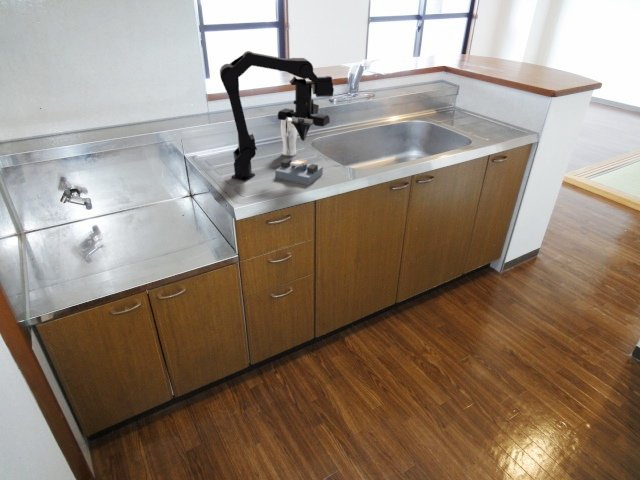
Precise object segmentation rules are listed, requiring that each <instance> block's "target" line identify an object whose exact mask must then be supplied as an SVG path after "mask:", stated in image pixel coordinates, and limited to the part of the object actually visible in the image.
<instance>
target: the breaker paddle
mask: <svg viewBox="0 0 640 480" xmlns="http://www.w3.org/2000/svg"><path fill="white" fill-rule="evenodd" d="M293 161H294V162H291V163H290V165H293V166H298V167H299V166H302V165H303V164H305V163H307V164H309V161H308V160H306V159H300V158H299V159H297V160H293Z"/></svg>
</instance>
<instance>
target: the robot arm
mask: <svg viewBox="0 0 640 480" xmlns="http://www.w3.org/2000/svg"><path fill="white" fill-rule="evenodd" d="M252 66H253V67H258V68H263V69H269V70H274V71H282V72H286V73H288V74H291V75H293V77H292V79H291V80H289V84H290V85H291V86H294V88H295V89H294V91H295V93H294V95H295V97H294V98H295V99H294V100H293V105H295V111H294V109H292V108H291V109H289V108H283V109H281V110H278V112H277V119H278V120H280V121H281V120H285V119H286V118H287V117H289V118H292V122H291V124H293V125H294V126H295V128H296V130H297V134H298V135H299V137H300V140H301V141H303V142H305V140H306V138H307V135H308V132H309V130H310V128H311V126H312V125H314V126H317V127H325V126H327V125H328V124H330V116H329V115H328V114H324V113H319V112H318V111H319V108H320V105H319V104H316V103H314V99H312V95H315V97H316V98H327V97H330V98H331V97H333V95H334V91H335V89H334V83H333V77H332V76H330V75H326V76H317V75H316V74H315V72H314V66H313V64H312V63H311V62H310V61H309V60H308V59H306V58H305V57H291V58H283V57H277V56H272V55H267V54H261V53H257V52H256V53H255V52H254V51H253V52H252V51H250V50H247V51H245V52H244V53H243V54H242V55H240V56H238V57H237V58H235V59H234V60H233V61H231V62H230V63H225V64H223V65H222V66H220V69H219V74H220V80H221V82H222V84H223V87H224V89H225V91H226V93H227V95H228V99H229V103H230V106H231V110H232V115H233V119H234V122H235V127H236V131H237V145H238V147H237V148H236V149H235V150H233V152H232V153H233V159H234V162H233V169H234V170H233V171H234V174H233V175H232V176H231V179H237V180H240V181H244V182H246V181H248V180H249V179H251V178H253V177H255V176H256V174H255V173H253V171H252V170H253V169H252V161H251V160H252V159H254V158H255V156H256V151H257V150H258V147H257V145H256V140H255V135H254V133H249V131H248V126H247V123H246V119H245V114H244V113H245V112H244V110H243V105H242V101H241V97H240V84H239V83H240V81H239V79H240V78H239V77H241V76H242V75H243V74H244V73H245V72H246V71H247V70H249V69H250V68H251V67H252ZM297 77H299V78H297ZM306 79H308V80H309V81H308V80H306ZM318 113H319V114H318Z"/></svg>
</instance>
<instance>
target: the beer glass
mask: <svg viewBox="0 0 640 480" xmlns="http://www.w3.org/2000/svg"><path fill="white" fill-rule="evenodd" d="M291 122H292V118H289V117H287V118H286V119H285V120H280V135H281V139H282V140H281V141H282V153H281V154H282V155H283V156H286V157H293V156H296V155H297V147H296V144H297V138H298V131H297V130H296V128H295V126H294V125H293V124H291Z"/></svg>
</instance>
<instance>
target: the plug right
mask: <svg viewBox="0 0 640 480" xmlns="http://www.w3.org/2000/svg"><path fill="white" fill-rule="evenodd" d="M310 164H311V165H310V166H309V167H307V173H312V174H313V173H315V172H316V171H317V170H318V166H319V164H314V163H310Z"/></svg>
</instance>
